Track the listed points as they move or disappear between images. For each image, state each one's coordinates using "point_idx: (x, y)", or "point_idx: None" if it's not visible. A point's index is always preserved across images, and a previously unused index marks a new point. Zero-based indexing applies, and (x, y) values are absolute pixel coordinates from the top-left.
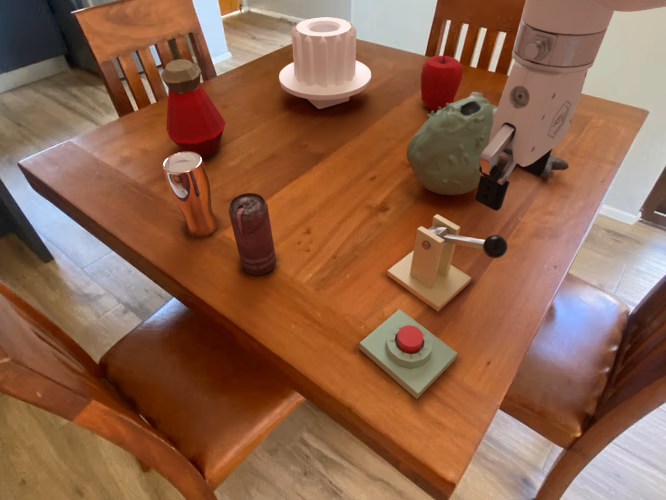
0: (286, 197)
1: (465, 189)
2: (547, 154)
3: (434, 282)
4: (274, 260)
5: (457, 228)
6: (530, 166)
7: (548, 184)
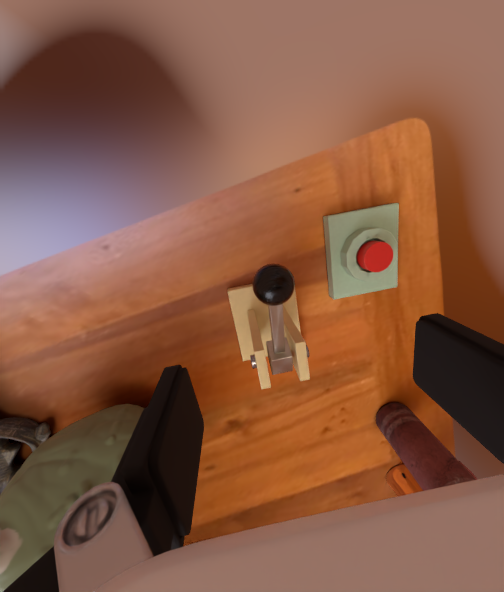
0: (311, 478)
1: (133, 409)
2: (156, 442)
3: None
4: (387, 412)
5: (260, 352)
6: (191, 412)
7: None
